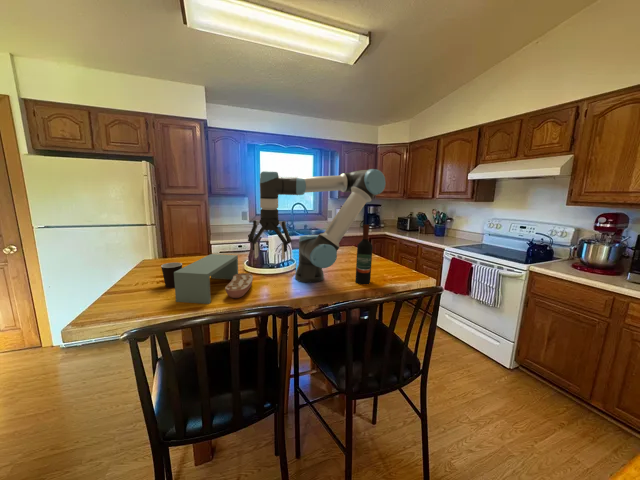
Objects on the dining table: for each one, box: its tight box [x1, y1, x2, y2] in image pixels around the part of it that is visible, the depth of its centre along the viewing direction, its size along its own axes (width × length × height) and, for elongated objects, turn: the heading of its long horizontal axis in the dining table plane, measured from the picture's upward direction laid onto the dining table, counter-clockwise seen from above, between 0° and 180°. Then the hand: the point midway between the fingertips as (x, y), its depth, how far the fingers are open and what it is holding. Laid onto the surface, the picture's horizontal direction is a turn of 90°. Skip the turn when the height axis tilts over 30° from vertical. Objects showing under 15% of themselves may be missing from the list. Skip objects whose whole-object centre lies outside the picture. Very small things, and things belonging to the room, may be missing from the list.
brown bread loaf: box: [224, 272, 254, 299], centre depth 123 cm, size 23×10×5 cm, turn 5°
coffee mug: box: [160, 262, 183, 289], centre depth 128 cm, size 12×9×10 cm
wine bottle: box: [354, 223, 374, 285], centre depth 137 cm, size 8×8×30 cm
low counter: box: [174, 253, 239, 305], centre depth 124 cm, size 14×31×12 cm, turn 175°
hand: (269, 258), depth 119 cm, fingers open, 11 cm apart
